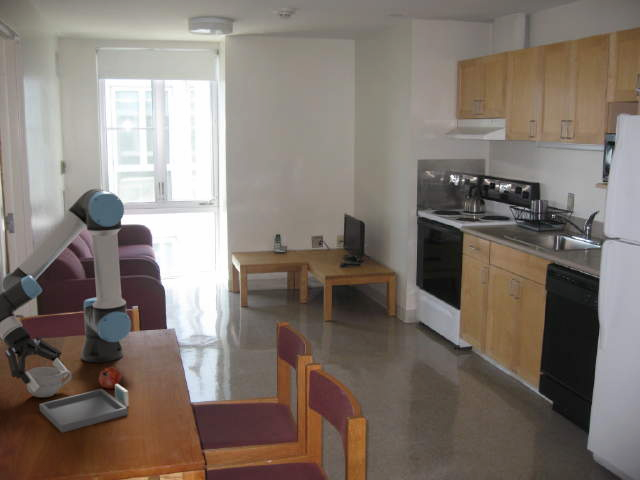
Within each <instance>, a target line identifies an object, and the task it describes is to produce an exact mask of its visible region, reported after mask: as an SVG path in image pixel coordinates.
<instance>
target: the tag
mask: <svg viewBox="0 0 640 480" xmlns="http://www.w3.org/2000/svg"><path fill="white" fill-rule="evenodd" d="M114 395H115V396H114V398H115V399H116V400H118V401H119V402H120V403H121V404H123V405H124V406H125V407H127V408H128V407H129V405H130V403H129V391H128V390H127V389H126V388H124V387H123V386H121V385H120V384H119V383H118V384H115V388H114Z"/></svg>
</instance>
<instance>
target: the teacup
mask: <svg viewBox="0 0 640 480" xmlns="http://www.w3.org/2000/svg"><path fill="white" fill-rule="evenodd" d="M27 371H28V372H29V374H30V375H31V376H32V377H33V379H34V380H35V381H36V382H37V384H38V385H39V386H40V387H39V389H38V390H37V391H36V392H33V391H32V390H31V388H30V387H29V386H28V384H26V389H27V391H28V392H29V394H31V395H33V396H34V397H36V398H49V397H52V396H54V395H56V393H58V392H59V391H60V388H62V387H63V386H65V385H66V384H68V383H69V382H70V381H71V380H72V377H73V376H72V374H73V373H72V372H71V370H70V371H69V369H67V370H65V371H63V372H62V370H60V369H58V368H55V366H53V367H52V366H37V367H33V368H30V369H28V370H27ZM64 374H68V375H67V376H68V377H66V379H65V380H63V381H62V379H63V375H64Z"/></svg>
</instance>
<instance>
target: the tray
mask: <svg viewBox="0 0 640 480" xmlns="http://www.w3.org/2000/svg"><path fill="white" fill-rule="evenodd" d="M38 406H39V412H40V413H42V415H44V417H46V419H48V420H49V422H51V424H52V425H53V426H54V427H56V428H57V430H59V431H60V432H61V433H66V432H71V431H73V430H76V429H81V428H85V427H88V426H91V425H95V424H98V423H101V422H102V423H103V422H106V421H109V420H113V419H117V418H121V417H125V416H127V415H129V414H128V413H129V412H128V406H127V407H125V406H124V405H123V404H121V403H120V402H119V401H118V400H116V399H115V396H112V395H111V394H109V393H108V392H107V391H106V390H104V389H103V388H99V389H95V390H92V391H87V392H84V393H78V394H75V395H71V396H66V397H63V398H62V397H61V398H58V399H55V400H51V401H50V400H49V401H46V402H45V401H44V402H41V403H39V405H38Z"/></svg>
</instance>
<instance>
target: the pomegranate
mask: <svg viewBox="0 0 640 480" xmlns="http://www.w3.org/2000/svg"><path fill="white" fill-rule="evenodd" d="M121 379H122V375H121V373H120V371H119V370H118V368H116V367H115V366H108V367H105V368H104V369H103V370H100V373H99V376H98V382H99V384H100V386H101V387H103V388H105V389H110V390H111V389H115V384H119V383H120V381H121Z"/></svg>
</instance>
